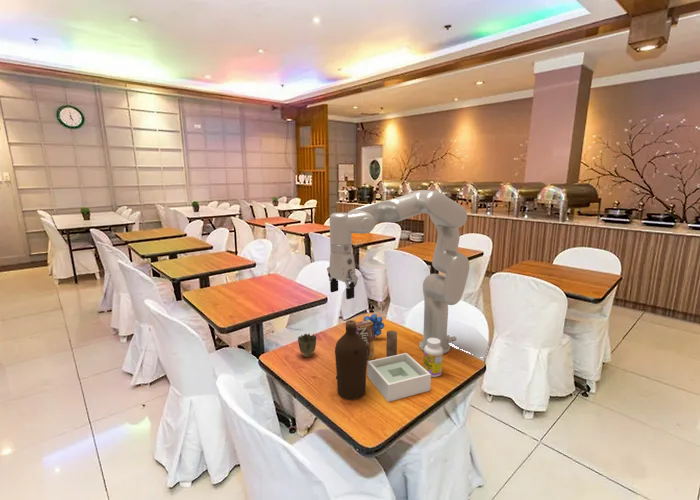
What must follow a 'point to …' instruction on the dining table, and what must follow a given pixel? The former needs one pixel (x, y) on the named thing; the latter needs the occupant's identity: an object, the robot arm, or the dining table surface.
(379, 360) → the box
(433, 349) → the supplement bottle
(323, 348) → the dining table surface
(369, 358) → the candy box
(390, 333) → the peg
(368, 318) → the grapes
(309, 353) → the cup
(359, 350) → the olive oil
